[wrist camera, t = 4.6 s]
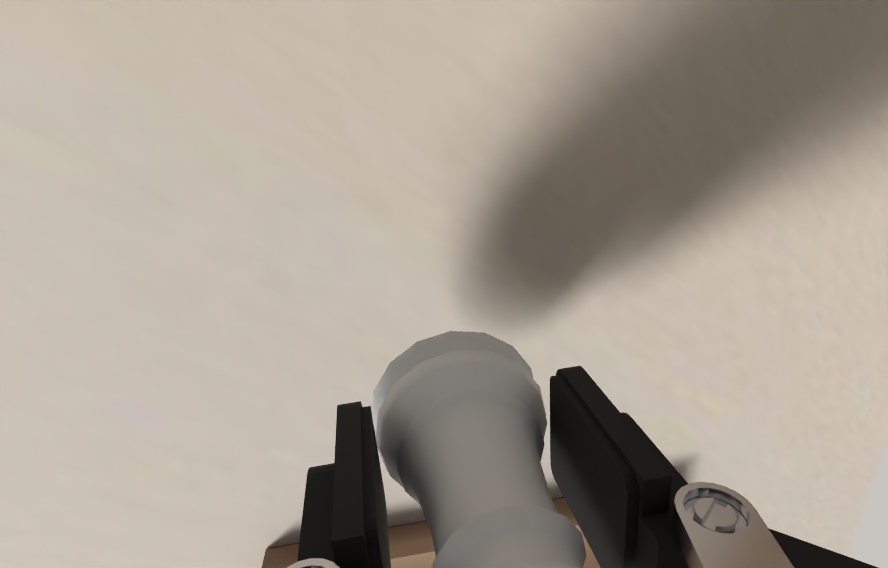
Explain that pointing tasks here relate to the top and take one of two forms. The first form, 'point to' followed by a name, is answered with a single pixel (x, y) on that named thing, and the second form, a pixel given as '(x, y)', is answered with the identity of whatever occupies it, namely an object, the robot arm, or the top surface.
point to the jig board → (412, 546)
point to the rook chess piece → (473, 453)
